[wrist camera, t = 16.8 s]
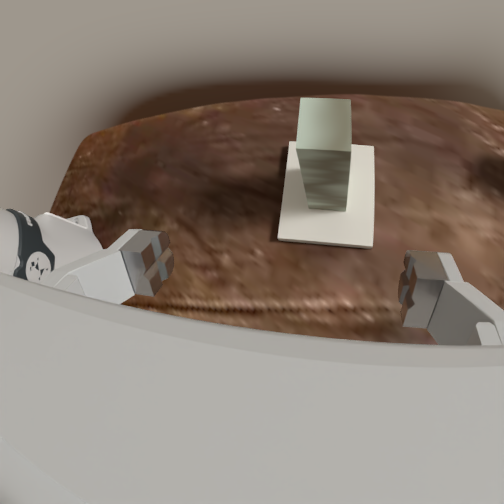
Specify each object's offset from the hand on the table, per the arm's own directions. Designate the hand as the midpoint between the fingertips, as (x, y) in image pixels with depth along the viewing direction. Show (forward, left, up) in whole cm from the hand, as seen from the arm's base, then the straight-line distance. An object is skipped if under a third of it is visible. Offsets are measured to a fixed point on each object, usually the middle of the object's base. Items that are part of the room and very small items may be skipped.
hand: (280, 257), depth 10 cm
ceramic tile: (+1, +12, -22) cm, 26 cm away
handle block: (0, +12, -21) cm, 25 cm away
